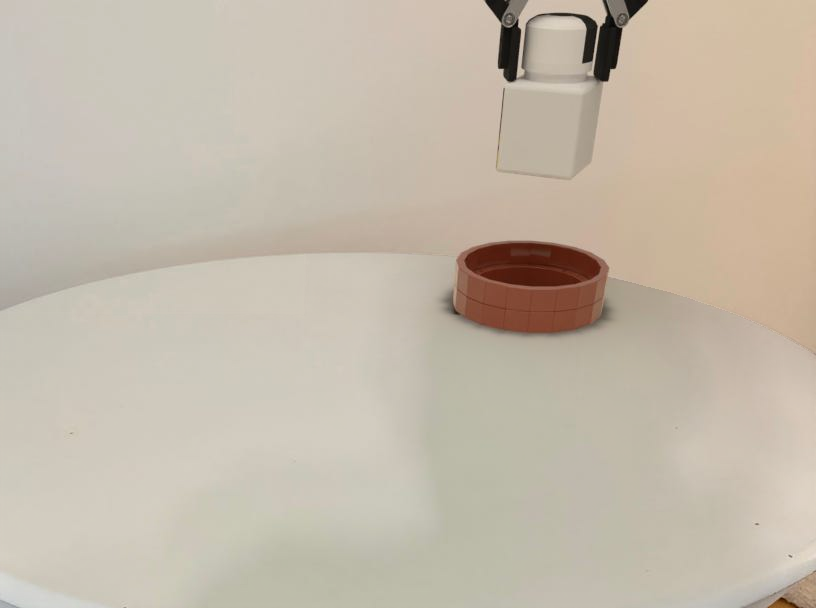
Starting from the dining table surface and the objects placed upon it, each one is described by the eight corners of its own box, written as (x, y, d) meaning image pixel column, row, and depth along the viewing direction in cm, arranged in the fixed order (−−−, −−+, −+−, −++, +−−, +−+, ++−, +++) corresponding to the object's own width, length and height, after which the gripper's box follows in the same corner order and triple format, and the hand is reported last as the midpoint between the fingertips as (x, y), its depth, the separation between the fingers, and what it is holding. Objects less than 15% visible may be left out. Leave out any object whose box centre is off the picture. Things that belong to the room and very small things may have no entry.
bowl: (583, 289, 105) (590, 240, 102) (614, 342, 93) (624, 289, 90) (446, 289, 105) (449, 240, 102) (461, 342, 93) (465, 289, 90)
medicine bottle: (518, 155, 94) (534, 7, 87) (591, 163, 92) (615, 12, 84) (494, 172, 89) (509, 16, 82) (571, 181, 87) (594, 22, 79)
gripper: (687, -183, 78) (643, 71, 89) (468, -184, 78) (451, 71, 89) (717, -187, 72) (665, 87, 83) (479, -187, 72) (460, 87, 83)
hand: (555, 77), depth 86 cm, fingers closed on medicine bottle, 7 cm apart
